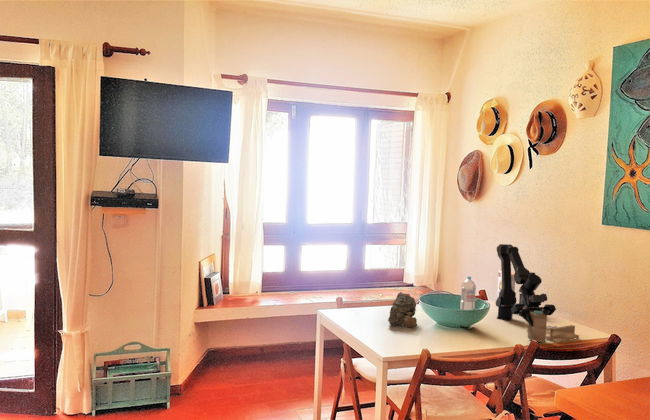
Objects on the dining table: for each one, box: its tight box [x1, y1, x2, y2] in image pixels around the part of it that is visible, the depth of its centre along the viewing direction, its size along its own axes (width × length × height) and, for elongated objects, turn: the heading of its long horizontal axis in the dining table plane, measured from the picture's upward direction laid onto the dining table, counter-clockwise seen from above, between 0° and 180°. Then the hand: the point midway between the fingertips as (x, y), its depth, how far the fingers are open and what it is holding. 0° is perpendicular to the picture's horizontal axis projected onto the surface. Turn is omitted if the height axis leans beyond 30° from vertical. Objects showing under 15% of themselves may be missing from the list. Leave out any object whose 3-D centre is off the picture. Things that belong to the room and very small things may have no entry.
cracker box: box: [496, 269, 516, 299], centre depth 265 cm, size 14×6×21 cm, turn 174°
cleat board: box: [526, 324, 580, 343], centre depth 217 cm, size 16×16×6 cm
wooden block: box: [527, 311, 548, 343], centre depth 208 cm, size 6×6×13 cm
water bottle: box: [459, 276, 477, 329], centre depth 226 cm, size 7×7×25 cm
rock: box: [387, 292, 418, 328], centre depth 226 cm, size 18×14×15 cm
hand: (538, 326), depth 206 cm, fingers closed on wooden block, 5 cm apart
